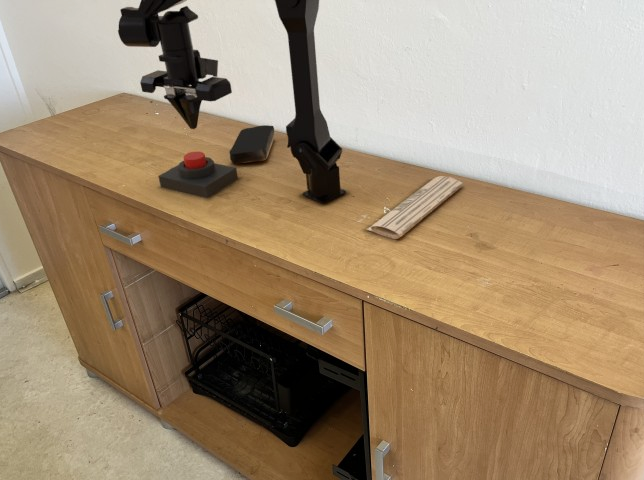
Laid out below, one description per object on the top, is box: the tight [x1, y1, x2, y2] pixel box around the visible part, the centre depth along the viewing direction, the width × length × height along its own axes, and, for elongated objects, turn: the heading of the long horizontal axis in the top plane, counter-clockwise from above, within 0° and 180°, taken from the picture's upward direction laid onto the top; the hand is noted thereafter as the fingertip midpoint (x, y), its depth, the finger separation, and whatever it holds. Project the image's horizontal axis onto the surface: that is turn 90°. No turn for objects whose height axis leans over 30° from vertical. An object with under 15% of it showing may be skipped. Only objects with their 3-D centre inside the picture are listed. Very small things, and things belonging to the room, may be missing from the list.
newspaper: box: [366, 175, 464, 240], centre depth 116 cm, size 24×7×2 cm, turn 143°
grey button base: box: [158, 156, 239, 199], centre depth 130 cm, size 13×10×4 cm
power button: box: [183, 151, 207, 169], centre depth 128 cm, size 4×4×2 cm
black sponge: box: [229, 124, 275, 165], centre depth 142 cm, size 16×8×4 cm, turn 177°
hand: (193, 128), depth 124 cm, fingers closed
